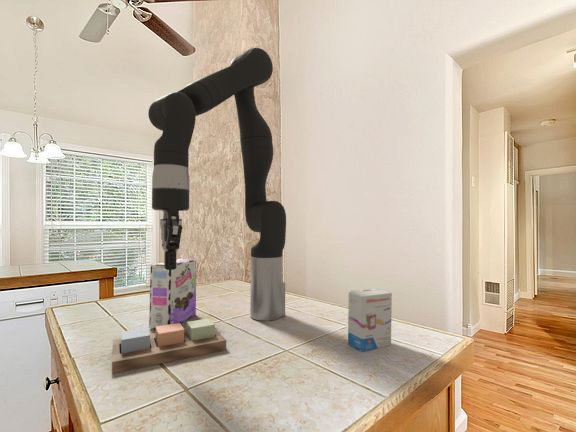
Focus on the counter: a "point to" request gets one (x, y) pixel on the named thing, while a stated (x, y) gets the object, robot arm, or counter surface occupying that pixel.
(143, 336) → the squat grey square block
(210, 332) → the sage tile
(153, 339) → the button board
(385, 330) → the ink box
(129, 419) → the counter surface
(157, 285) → the candy box
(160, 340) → the terracotta tile
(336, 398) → the counter surface
